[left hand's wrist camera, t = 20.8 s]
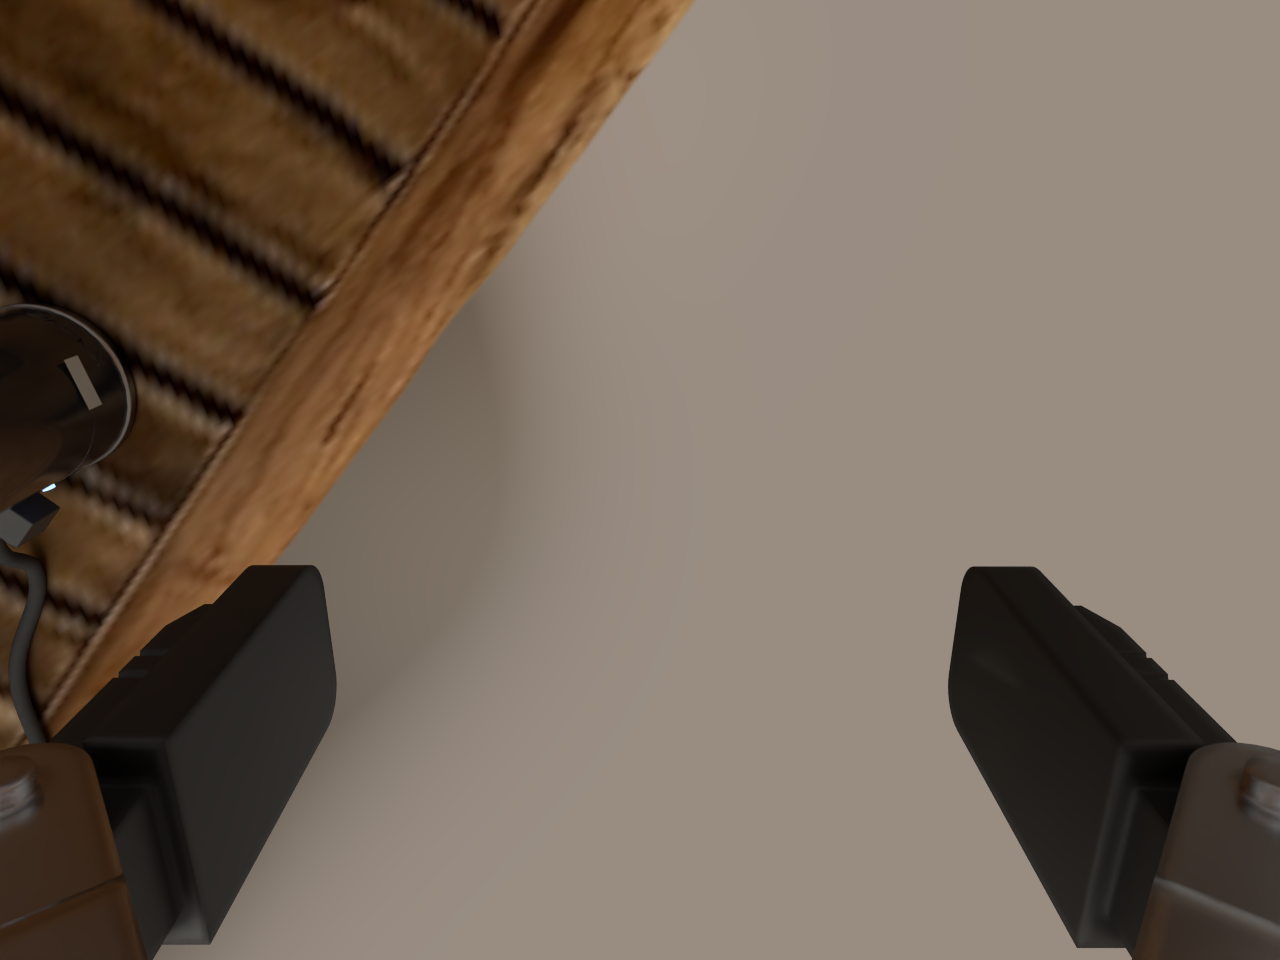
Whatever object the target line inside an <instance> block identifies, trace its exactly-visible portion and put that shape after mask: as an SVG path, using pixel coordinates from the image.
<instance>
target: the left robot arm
mask: <svg viewBox="0 0 1280 960" xmlns="http://www.w3.org/2000/svg"><path fill="white" fill-rule="evenodd" d="M135 411H136V395H135V388H134V384H133V380H132V377H131V374H130V371H129V369H128V367H127V365H126V363H125V361H124V359H123V357H122V356H121V354H120V353H119V351H118V350H117V348H116V347H115V346H114V344H113V343H112V342H111V341H110V340H109V339H108V338H107V337H106V336H105V335H104V334H103V333H102V332H101V331H100V330H99V329H98V328H96V327H95V326H94V325H93V324H91V323H90V322H88V321H87V320H85V319H84V318H82V317H80V316H79V315H77V314H75V313H73V312H71V311H68V310H66V309H63V308H60V307H57V306H53V305H49V304H44V303H34V302H30V303H17V304H12V305H8V306H4V307H0V563H1V564H3V565H6V566H9V567H13V568H19V569H23V570H25V572H26V574H27V576H28V581H29V593H28V598H27V602H26V606H25V609H24V612H23V615H22V618H21V620H20V623H19V626H18V628H17V631H16V634H15V637H14V641H13V644H12V648H11V652H10V659H9V683H10V689H11V694H12V698H13V702H14V705H15V708H16V711H17V714H18V716H19V719H20V721H21V724H22V726H23V729H24V731H25V734H26V736H27V738H28V741H29V743H30V744H27V745H22V746H17V747H12V748H8V749H4V750H1V751H0V960H153V958H154V957H155V955H156V953H157V952H158V950H159V948H160V947H161V945H164V944H167V945H168V944H174V945H175V944H176V945H178V944H179V945H182V944H183V945H185V944H188V945H189V944H194V945H195V944H196V945H198V944H199V945H202V944H203V945H204V944H205V945H206V944H208V945H209V944H211V942H212V940H213V938H214V936H215V935H216V933H217V931H218V929H219V927H220V925H221V923H222V922H223V920H224V918H225V916H226V914H227V912H228V911H229V909H230V907H231V905H232V903H233V901H234V900H235V898H236V896H237V894H238V892H239V890H240V888H241V887H242V885H243V883H244V881H245V879H246V877H247V876H248V874H249V872H250V870H251V868H252V866H253V865H254V863H255V861H256V859H257V857H258V855H259V854H260V852H261V850H262V848H263V846H264V844H265V843H266V841H267V839H268V837H269V835H270V833H271V831H272V830H273V828H274V826H275V824H276V822H277V820H278V819H279V817H280V815H281V813H282V811H283V809H284V808H285V806H286V804H287V802H288V800H289V798H290V797H291V795H292V793H293V791H294V789H295V787H296V785H297V784H298V782H299V780H300V778H301V776H302V774H303V773H304V771H305V769H306V767H307V765H308V763H309V762H310V760H311V758H312V756H313V754H314V752H315V750H316V749H317V747H318V745H319V743H320V741H321V739H322V738H323V736H324V734H325V732H326V730H327V728H328V726H329V724H330V721H331V719H332V715H333V711H334V706H335V700H336V671H335V664H334V657H333V650H332V642H331V635H330V628H329V621H328V614H327V607H326V599H325V592H324V586H323V581H322V577H321V575H320V572H319V571H318V569H317V568H316V567H315V566H313V565H252V566H249V567H248V568H247V569H245V571H244V572H243V573H242V574H241V575H240V576H239V577H238V578H237V579H236V580H235V581H234V582H233V583H232V584H231V585H230V586H229V587H228V588H227V590H226V591H225V592H224V593H223V594H222V595H221V596H220V597H219V598H218V599H217V600H216V601H215V602H214V603H213V604H204V605H202V606H200V607H198V608H197V609H195V610H193V611H191V612H189V613H188V614H186V615H184V616H182V617H180V618H179V619H177V620H175V621H173V622H171V623H170V624H168V625H166V626H165V627H164V628H163V629H162V630H161V631H160V632H159V633H158V634H157V635H156V636H155V637H154V638H153V639H152V640H151V641H150V642H149V643H148V644H147V645H146V646H145V647H144V648H143V649H142V650H141V651H140V656H135V657H134V658H133V659H132V660H131V661H130V662H129V663H128V664H127V665H126V666H125V667H124V668H123V669H122V670H121V671H120V672H119V677H118V678H113V679H112V680H111V681H110V682H109V683H108V684H107V685H106V686H105V687H104V688H103V689H102V690H101V691H100V692H99V693H98V694H97V695H96V696H95V697H94V698H93V699H92V700H91V701H90V702H89V703H88V704H87V705H86V706H85V707H83V708H82V709H81V710H80V711H79V712H78V713H77V714H76V715H75V716H74V717H73V718H72V719H71V720H70V721H69V722H68V723H67V724H66V725H65V726H64V727H63V728H62V729H61V730H60V731H59V732H58V733H57V734H56V735H55V736H54V737H53V738H52V739H51V740H50V741H49V742H48V743H47V741H46V739H45V736H44V734H43V731H42V729H41V726H40V724H39V721H38V719H37V716H36V714H35V711H34V708H33V705H32V703H31V699H30V696H29V691H28V686H27V679H26V661H27V654H28V650H29V646H30V643H31V640H32V636H33V634H34V631H35V628H36V625H37V623H38V620H39V617H40V614H41V611H42V608H43V604H44V600H45V596H46V586H47V584H46V576H45V573H44V570H43V567H42V565H41V563H40V561H39V560H38V559H36V558H35V557H32V556H30V555H27V554H23V553H17V552H13V551H12V550H10V548H9V547H8V546H7V544H6V543H5V541H6V542H7V543H9V544H10V545H12V546H13V547H15V548H18V547H19V546H21V545H22V544H24V543H26V542H27V541H29V540H30V539H32V538H33V537H35V536H37V535H38V534H40V533H41V532H43V531H44V530H45V529H46V527H47V526H48V525H49V523H50V522H51V520H52V519H53V518H54V516H55V515H56V513H57V512H58V510H59V509H60V507H59V506H57V505H56V504H54V503H53V502H52V501H50V500H49V499H47V498H46V497H44V496H43V495H41V494H40V493H39V492H40V491H42V490H43V491H47V490H50V489H52V488H54V487H55V485H54V484H55V483H56V482H59V481H61V480H62V479H64V478H66V477H68V476H70V475H71V474H73V473H75V472H77V471H78V470H80V469H82V468H84V467H87V466H90V465H92V464H94V463H96V462H98V461H100V460H102V459H103V458H105V457H107V456H109V455H110V454H111V453H113V452H114V451H115V450H116V449H117V448H118V447H119V446H120V445H121V444H122V443H123V442H124V440H125V439H126V437H127V436H128V434H129V432H130V430H131V428H132V425H133V422H134V417H135ZM948 694H949V704H950V710H951V714H952V718H953V721H954V724H955V726H956V728H957V731H958V732H959V734H960V736H961V738H962V740H963V741H964V743H965V745H966V747H967V749H968V751H969V752H970V754H971V756H972V758H973V760H974V761H975V763H976V765H977V767H978V769H979V771H980V772H981V774H982V776H983V778H984V780H985V781H986V783H987V785H988V787H989V789H990V791H991V792H992V794H993V796H994V798H995V800H996V801H997V803H998V805H999V807H1000V809H1001V811H1002V812H1003V814H1004V816H1005V818H1006V820H1007V821H1008V823H1009V825H1010V827H1011V829H1012V830H1013V832H1014V834H1015V836H1016V838H1017V840H1018V841H1019V843H1020V845H1021V847H1022V849H1023V850H1024V852H1025V854H1026V856H1027V858H1028V860H1029V861H1030V863H1031V865H1032V867H1033V869H1034V870H1035V872H1036V874H1037V876H1038V878H1039V880H1040V881H1041V883H1042V885H1043V887H1044V889H1045V890H1046V892H1047V894H1048V896H1049V898H1050V900H1051V901H1052V903H1053V905H1054V907H1055V909H1056V911H1057V912H1058V914H1059V916H1060V918H1061V920H1062V921H1063V923H1064V925H1065V927H1066V929H1067V931H1068V932H1069V934H1070V936H1071V938H1072V939H1073V941H1074V943H1075V945H1076V947H1077V948H1126V949H1127V951H1128V952H1129V954H1130V955H1131V957H1132V960H1280V751H1279V750H1276V749H1272V748H1268V747H1263V746H1258V745H1253V744H1244V743H1237V742H1236V741H1235V740H1234V739H1233V738H1232V737H1231V736H1230V735H1229V734H1228V733H1227V732H1226V731H1225V730H1224V729H1223V728H1222V727H1221V726H1220V725H1219V724H1218V723H1217V722H1216V721H1215V720H1214V719H1213V718H1212V717H1211V716H1210V715H1209V714H1208V713H1207V712H1206V711H1205V710H1204V709H1203V708H1202V707H1201V706H1200V705H1199V704H1198V703H1196V702H1195V701H1194V700H1193V699H1192V698H1191V697H1190V696H1189V695H1188V694H1187V693H1186V692H1185V691H1184V690H1183V689H1182V688H1181V687H1180V686H1179V685H1178V684H1177V683H1176V682H1175V681H1174V680H1168V674H1167V673H1166V672H1165V671H1164V670H1163V669H1162V668H1161V667H1160V666H1159V665H1158V664H1157V663H1156V662H1155V661H1154V660H1153V659H1152V658H1147V657H1146V652H1145V651H1144V650H1143V649H1142V648H1141V647H1140V646H1139V645H1138V644H1137V643H1136V642H1135V641H1134V640H1133V639H1132V638H1131V637H1130V636H1129V635H1128V634H1127V633H1126V632H1125V631H1124V630H1123V629H1121V628H1120V627H1119V626H1117V625H1115V624H1113V623H1111V622H1110V621H1108V620H1106V619H1104V618H1102V617H1101V616H1099V615H1097V614H1095V613H1093V612H1092V611H1090V610H1088V609H1086V608H1084V607H1083V606H1073V605H1072V604H1071V603H1070V602H1069V601H1068V600H1067V599H1066V598H1065V596H1064V595H1063V594H1062V593H1061V592H1060V591H1059V590H1058V589H1057V588H1056V587H1055V586H1054V585H1053V584H1052V583H1051V582H1050V581H1049V580H1048V579H1047V578H1046V577H1045V576H1044V575H1043V574H1042V572H1041V571H1040V570H1038V569H1037V568H1035V567H971V568H969V569H968V570H967V572H966V574H965V576H964V578H963V582H962V586H961V593H960V600H959V607H958V614H957V621H956V628H955V635H954V642H953V649H952V656H951V663H950V670H949V679H948Z"/></svg>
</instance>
